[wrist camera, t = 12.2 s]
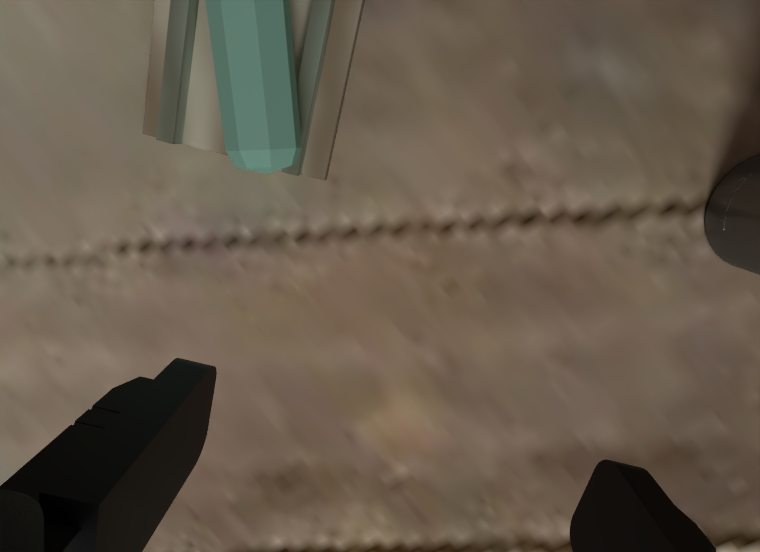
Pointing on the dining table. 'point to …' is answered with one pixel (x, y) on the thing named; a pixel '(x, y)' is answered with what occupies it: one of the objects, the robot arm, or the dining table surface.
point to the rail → (199, 88)
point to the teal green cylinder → (256, 82)
